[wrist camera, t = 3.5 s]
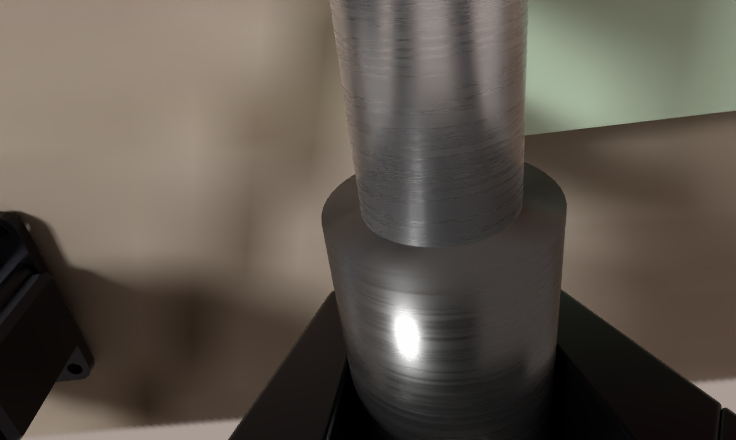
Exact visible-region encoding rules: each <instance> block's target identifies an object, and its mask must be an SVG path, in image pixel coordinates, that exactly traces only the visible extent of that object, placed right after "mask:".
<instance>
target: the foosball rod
mask: <svg viewBox="0 0 736 440" xmlns="http://www.w3.org/2000/svg"><path fill="white" fill-rule="evenodd" d="M330 5H331V12H332V19H333V26H334V33H335V39H336V46H337V53H338V60H339V67H340V73H341V80H342V87H343V94H344V101H345V107H346V114H347V121H348V128H349V135H350V141H351V148H352V155H353V162H354V168H355V175H353V176H352V177H350V178H348V179H347V180H346V181H344V182H343V183H342V184H340V185H339V186H338V187H337V188H336V189H335V190H334V191H333V192H332V193H331V195H330V196H329V198H328V199H327V201H326V203H325V205H324V207H323V211H322V227H323V233H324V238H325V243H326V248H327V253H328V259H329V264H330V269H331V274H332V279H333V285H334V290H335V295H336V300H337V306H338V311H339V316H340V321H341V326H342V332H343V337H344V342H345V347H346V352H347V358H348V363H349V368H350V373H351V378H352V384H353V389H354V394H355V399H356V405H357V410H358V415H359V420H360V425H361V431H362V436H363V440H549V437H550V424H551V410H552V397H553V384H554V370H555V357H556V344H557V331H558V317H559V304H560V291H561V277H562V264H563V251H564V237H565V224H566V209H567V203H566V199H565V195H564V194H563V192H562V190H561V188H560V187H559V185H558V184H557V183H556V182H555V181H554V180H553V179H552V178H551V177H550V176H548V175H547V174H546V173H544V172H543V171H541V170H540V169H538V168H536V167H534V166H532V165H530V164H527V163H525V162H524V141H525V105H526V69H527V33H528V0H330Z"/></svg>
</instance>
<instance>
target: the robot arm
mask: <svg viewBox="0 0 736 440" xmlns="http://www.w3.org/2000/svg"><path fill="white" fill-rule="evenodd" d="M0 226H2V227H4V228H6V229H7V231H8V232H9V233H6V232H4V231H2V230H1V228H0V440H21V438H22V437H23V435H24V434H25V432H26V431H27V429H28V427H29V426H30V424H31V422H32V420H33V419H34V417H35V415H36V414H37V412H38V410H39V409H40V407H41V405H42V404H43V402H44V400H45V399H46V397H47V395H48V394H49V392H50V390H51V389H52V387H53V385H54V384H55V382H59V381H69V380H78V379H84V378H86V377H87V376H89V374H90V372H91V371H92V369H93V367H94V364H95V361H94V358H93V356H92V354H91V352H90V350H89V348H88V346H87V344H86V343H85V341H84V339H83V337H82V334H81V332H80V330H79V328H78V326H77V324H76V322H75V320H74V318H73V316H72V314H71V313H70V311H69V309H68V307H67V305H66V303H65V301H64V299H63V297H62V295H61V293H60V291H59V289H58V287H57V286H56V284H55V282H54V280H53V278H52V277H51V275H50V273H49V271H48V269H47V267H46V265H45V263H44V261H43V260H42V258H41V256H40V254H39V252H38V250H37V248H36V246H35V244H34V242H33V240H32V238H31V236H30V234H29V233H28V231H27V229H26V227H25V225H24V223H23V222H22V221H21V219H20V218H18V217H17V216H16V215H14V214H12V213H9V212H2V211H0ZM77 364H78V365H77ZM228 440H363V436H362V431H361V425H360V420H359V415H358V410H357V405H356V399H355V394H354V389H353V384H352V378H351V373H350V368H349V363H348V358H347V352H346V347H345V342H344V337H343V332H342V326H341V321H340V316H339V311H338V306H337V300H336V295H335V291H332V292H331V293H330V294H329V296H328V297H327V299H326V300H325V301H324V303H323V304H322V306H321V307H320V309H319V310H318V311H317V313H316V314H315V316H314V317H313V319H312V320H311V322H310V323H309V324H308V326H307V327H306V329H305V330H304V332H303V333H302V334H301V336H300V337H299V339H298V340H297V342H296V343H295V345H294V346H293V347H292V349H291V350H290V352H289V353H288V355H287V356H286V357H285V359H284V360H283V362H282V363H281V365H280V366H279V367H278V369H277V370H276V372H275V373H274V375H273V376H272V378H271V379H270V380H269V382H268V383H267V385H266V386H265V388H264V389H263V390H262V392H261V393H260V395H259V396H258V398H257V399H256V401H255V402H254V403H253V405H252V406H251V408H250V409H249V411H248V412H247V413H246V415H245V416H244V418H243V419H242V421H241V422H240V424H239V425H238V426H237V428H236V429H235V431H234V432H233V434H232V435H231V437H230V438H229V439H228ZM549 440H736V414H735V413H733V412H732V411H730V410H729V409H728V408H723V409H722V410H721V404H720V403H719V402H718V401H716V400H715V399H713V398H712V397H711V396H709V395H708V394H706V393H705V392H704V391H702V390H701V389H699V388H698V387H697V386H695V385H694V384H693V383H691V382H690V381H688V380H687V379H686V378H684V377H683V376H681V375H680V374H679V373H677V372H676V371H674V370H673V369H672V368H670V367H669V366H667V365H666V364H665V363H663V362H662V361H660V360H659V359H658V358H656V357H655V356H653V355H652V354H651V353H649V352H648V351H646V350H645V349H644V348H642V347H641V346H639V345H638V344H637V343H635V342H634V341H633V340H631V339H630V338H628V337H627V336H626V335H624V334H623V333H621V332H620V331H619V330H617V329H616V328H614V327H613V326H612V325H610V324H609V323H607V322H606V321H605V320H603V319H602V318H600V317H599V316H598V315H596V314H595V313H593V312H592V311H591V310H589V309H588V308H586V307H585V306H584V305H582V304H581V303H579V302H578V301H577V300H575V299H574V298H572V297H571V296H570V295H568V294H567V293H565V292H564V291H563V290H561V291H560V304H559V317H558V331H557V344H556V357H555V370H554V384H553V397H552V410H551V424H550V437H549Z"/></svg>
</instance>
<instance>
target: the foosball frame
mask: <svg viewBox="0 0 736 440" xmlns="http://www.w3.org/2000/svg"><path fill="white" fill-rule="evenodd" d="M727 111H736V0H528V33H527V69H526V105H525V135H533V134H542V133H550V132H559V131H567V130H576V129H584V128H592V127H601V126H609V125H618V124H626V123H635V122H643V121H651V120H660V119H668V118H677V117H685V116H694V115H702V114H711V113H719V112H727Z"/></svg>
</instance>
